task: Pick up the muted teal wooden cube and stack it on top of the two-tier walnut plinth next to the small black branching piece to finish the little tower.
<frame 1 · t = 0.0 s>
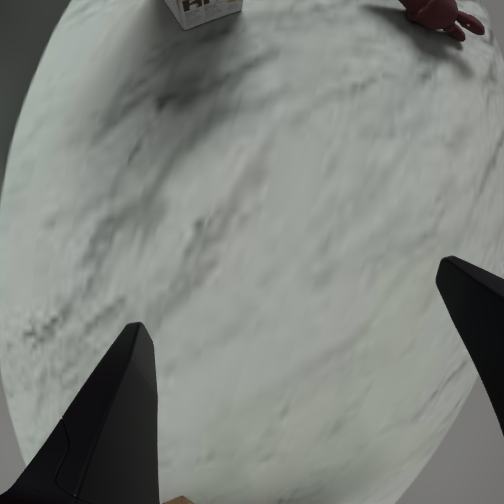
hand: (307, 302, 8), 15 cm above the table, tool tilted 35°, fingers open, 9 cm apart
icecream: (412, 17, 24), on the table
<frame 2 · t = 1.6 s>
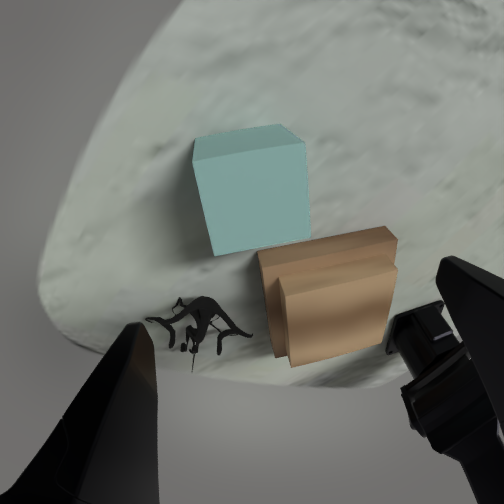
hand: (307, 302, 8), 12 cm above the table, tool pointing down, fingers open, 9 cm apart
plinth: (325, 289, 25), on the table
teal block: (244, 168, 18), on the table
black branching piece: (194, 313, 25), on the table
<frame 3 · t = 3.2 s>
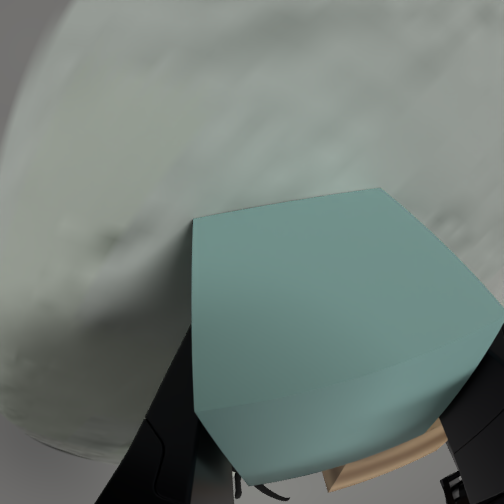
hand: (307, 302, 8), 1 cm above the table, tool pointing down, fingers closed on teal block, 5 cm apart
plinth: (380, 401, 15), on the table
teal block: (297, 278, 9), on the table, touching gripper
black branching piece: (201, 440, 16), on the table
when the fingers open (6 cm above the table, at t = 6.4 s): teal block drops 1 cm, resting on plinth.
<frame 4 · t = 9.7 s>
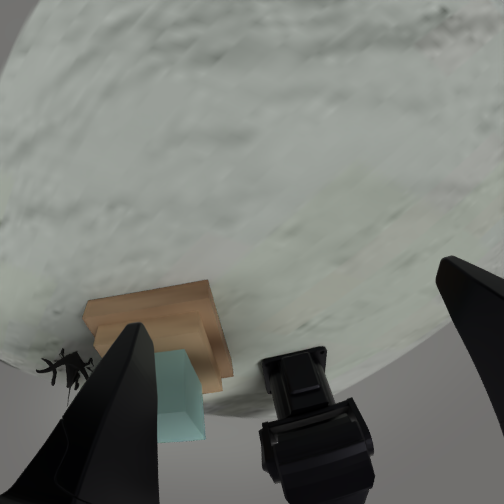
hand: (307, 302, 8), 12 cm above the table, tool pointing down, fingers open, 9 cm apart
plinth: (163, 334, 25), on the table
teal block: (162, 372, 22), point 4 cm above the table, touching plinth
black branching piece: (77, 359, 26), on the table
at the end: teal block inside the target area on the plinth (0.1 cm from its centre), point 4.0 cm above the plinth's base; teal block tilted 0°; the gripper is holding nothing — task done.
